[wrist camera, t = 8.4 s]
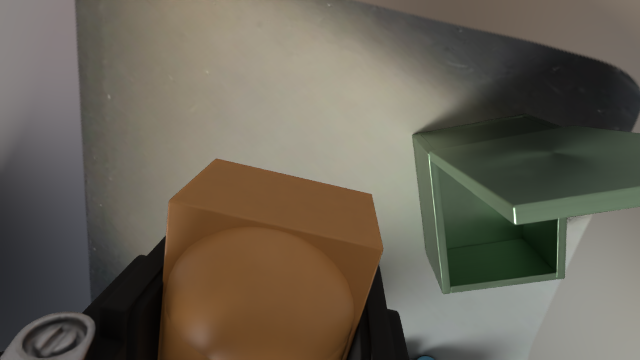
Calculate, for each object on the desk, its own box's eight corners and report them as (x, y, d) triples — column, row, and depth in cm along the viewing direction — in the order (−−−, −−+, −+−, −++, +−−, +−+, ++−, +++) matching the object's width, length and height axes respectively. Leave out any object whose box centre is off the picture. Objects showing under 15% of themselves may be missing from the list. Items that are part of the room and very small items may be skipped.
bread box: (527, 239, 37) (565, 278, 31) (426, 253, 38) (443, 294, 32) (526, 113, 32) (570, 129, 26) (411, 134, 34) (428, 154, 27)
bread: (215, 157, 10) (123, 239, 6) (372, 193, 10) (395, 299, 6) (192, 345, 13) (115, 500, 8) (318, 372, 13) (306, 538, 8)
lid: (832, 179, 12) (835, 156, 12) (514, 226, 13) (513, 206, 13) (574, 135, 26) (574, 125, 26) (430, 160, 27) (429, 150, 27)
